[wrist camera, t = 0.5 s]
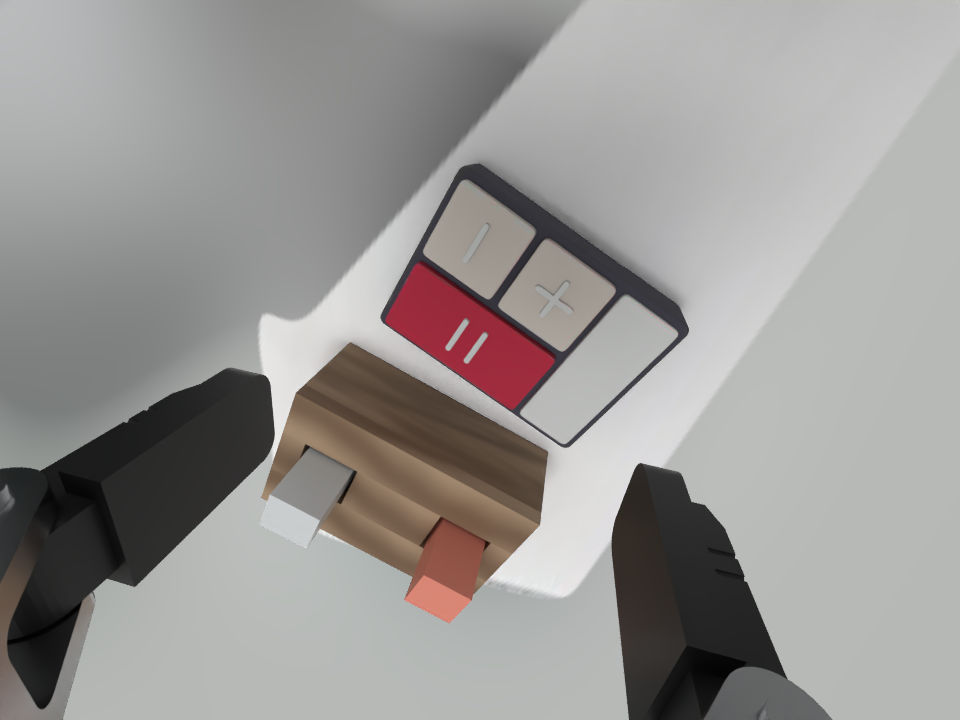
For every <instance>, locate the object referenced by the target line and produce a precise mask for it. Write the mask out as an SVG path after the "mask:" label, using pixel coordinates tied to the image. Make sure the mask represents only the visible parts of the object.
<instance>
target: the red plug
mask: <svg viewBox="0 0 960 720" xmlns="http://www.w3.org/2000/svg"><path fill="white" fill-rule="evenodd" d="M485 541H486V540H484V539H482V538H480V537H479V536H477V535H475V534H473V533H471V532H469V531H467V530H465V529H464V528H462V527H460V526H458V525H456V524H454V523H452V522H451V521H449V520H447V519H445V518H443V517H440V518H439V520H438V521H437V522H436V524H435V525H434V527H433V528H432V529H431V531H430V533H429V536H428V538H427V541H426V544H425V546H424V549H423V552H422V554H421V557H420V559H419V562H418V565H417V567H416V570H415V573H414V575H413V578H412V581H411V583H410V586H409V589H408V591H407V594H406V597H405V599H404V600H405V601H407V602H409V603H411V604H413V605H415V606H417V607H419V608H421V609H423V610H425V611H427V612H428V613H431V614H433V615H434V616H436V617H438V618H440V619H442V620H444V621H446V622H448V623H450V622H451V621H452V620H453V619H454V618H455V617H456V616H457V615H458V614H459V613H460V612H461V611H462V610H463V609H464V608H465V607H466V606H467V604H468V603H469V602H470V601H471V600H472V597H473V592H474V588H475V584H476V580H477V575H478V571H479V567H480V563H481V558H482V554H483V550H484V546H485Z"/></svg>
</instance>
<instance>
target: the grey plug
mask: <svg viewBox="0 0 960 720" xmlns="http://www.w3.org/2000/svg"><path fill="white" fill-rule="evenodd" d="M356 472H357V471H355V470H353V469H351V468H350V467H348V466H346V465H344V464H342V463H340V462H338V461H336V460H335V459H333V458H331V457H329V456H327V455H325V454H323V453H322V452H320V451H318V450H316V449H314V448H312V447H310V448H309V449H308V450H307V451H306V452H305V454H304V455H303V456H302V457H301V458H300V459H299V461H298V462H297V463H296V464H295V465H294V466H293V468H292V469H291V470H290V471H289V472H288V474H287V475H286V476H285V477H284V478H283V479H282V481H281V482H280V483H279V484H278V485H277V486H276V488H275V489H274V490H273V491H272V492H271V494H270V495H269V498H268V501H267V504H266V507H265V510H264V513H263V516H262V518H261V522H260V525H261V526H263V527H265V528H267V529H269V530H271V531H273V532H274V533H276V534H278V535H280V536H282V537H284V538H286V539H288V540H290V541H292V542H294V543H296V544H298V545H299V546H301V547H303V548H305V549H307V547H308V546H309V544H310V543H311V541H312V540H313V538H314V537H315V535H316V534H317V532H318V531H319V529H320V528H321V526H322V525H323V523H324V521H325V520H326V518H327V517H328V515H329V514H330V512H331V511H332V509H333V508H334V506H335V505H336V503H337V502H338V500H339V498H340V497H341V495H342V494H343V492H344V491H345V489H346V488H347V486H348V485H349V483H350V482H351V480H352V479H353V477H354V475H355V474H356Z"/></svg>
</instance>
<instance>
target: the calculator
mask: <svg viewBox="0 0 960 720" xmlns="http://www.w3.org/2000/svg"><path fill="white" fill-rule="evenodd" d="M381 320H382V322H383V323H384V324H385V325H387V326H388V327H390V328H391V329H393V330H394V331H395V332H397V333H398V334H400V335H401V336H403V337H404V338H405V339H407V340H408V341H410V342H411V343H413V344H414V345H416V346H417V347H418V348H420V349H421V350H423V351H424V352H426V353H427V354H429V355H430V356H431V357H433V358H434V359H436V360H437V361H439V362H440V363H441V364H443V365H444V366H446V367H447V368H449V369H450V370H452V371H453V372H454V373H456V374H457V375H459V376H460V377H462V378H463V379H464V380H466V381H467V382H469V383H470V384H472V385H473V386H475V387H476V388H477V389H479V390H480V391H482V392H483V393H485V394H486V395H488V396H489V397H490V398H492V399H493V400H495V401H496V402H498V403H499V404H500V405H502V406H503V407H505V408H506V409H508V410H509V411H511V412H512V413H513V414H515V415H516V416H518V417H519V418H521V419H522V420H524V421H525V422H526V423H528V424H529V425H531V426H532V427H534V428H535V429H536V430H538V431H539V432H541V433H542V434H544V435H545V436H547V437H548V438H549V439H551V440H552V441H554V442H555V443H557V444H558V445H560V446H561V447H564V448H567V447H570V446H571V445H572V444H573V443H574V442H575V441H576V440H577V439H578V438H579V437H581V436H582V435H583V434H584V433H585V432H586V431H587V430H588V429H589V428H590V427H591V426H592V425H593V424H594V423H595V422H596V421H597V420H598V419H599V418H601V417H602V416H603V415H604V414H605V413H606V412H607V411H608V410H609V409H610V408H611V407H612V406H613V405H614V404H615V403H616V402H617V401H618V400H620V399H621V398H622V397H623V396H624V395H625V394H626V393H627V392H628V391H629V390H630V389H631V388H632V387H633V386H634V385H635V384H636V383H637V382H638V381H640V380H641V379H642V378H643V377H644V376H645V375H646V374H647V373H648V372H649V371H650V370H651V369H652V368H653V367H654V366H655V365H656V364H657V363H659V362H660V361H661V360H662V359H663V358H664V357H665V356H666V355H667V354H668V353H669V352H670V351H671V350H672V349H673V348H674V347H675V346H676V345H677V344H679V343H680V342H681V341H682V340H683V339H684V338H685V337H686V336H687V334H688V332H689V328H688V326H687V323H686V321H685V319H684V316H683V314H682V312H681V310H680V308H679V306H678V305H677V304H675V303H674V302H673V301H671V300H670V299H669V298H667V297H666V296H664V295H663V294H662V293H660V292H659V291H657V290H656V289H655V288H653V287H652V286H650V285H649V284H648V283H646V282H645V281H643V280H642V279H641V278H639V277H638V276H636V275H635V274H634V273H632V272H631V271H629V270H628V269H626V268H624V267H622V266H621V265H619V264H618V263H617V262H615V261H614V260H613V259H611V258H610V257H608V256H607V255H606V254H604V253H603V252H602V251H600V250H599V249H597V248H596V247H595V246H593V245H592V244H591V243H589V242H588V241H587V240H585V239H584V238H582V237H581V236H580V235H578V234H577V233H576V232H574V231H573V230H571V229H570V228H569V227H567V226H566V225H565V224H563V223H562V222H560V221H559V220H558V219H556V218H555V217H554V216H552V215H551V214H550V213H548V212H547V211H545V210H544V209H543V208H541V207H540V206H538V205H537V204H536V203H534V202H533V201H531V200H530V199H529V198H527V197H526V196H524V195H523V194H522V193H520V192H519V191H518V190H516V189H515V188H513V187H512V186H511V185H509V184H508V183H506V182H505V181H504V180H502V179H501V178H499V177H498V176H497V175H495V174H494V173H492V172H491V171H490V170H488V169H487V168H485V167H484V166H482V165H481V164H473V165H468V166H464V167H462V168H460V169H459V171H458V173H457V174H456V176H455V178H454V180H453V182H452V184H451V185H450V187H449V189H448V191H447V193H446V195H445V197H444V198H443V200H442V202H441V204H440V206H439V208H438V210H437V211H436V213H435V215H434V217H433V219H432V221H431V223H430V224H429V226H428V228H427V230H426V232H425V234H424V236H423V237H422V239H421V241H420V243H419V245H418V247H417V249H416V250H415V252H414V254H413V256H412V258H411V260H410V262H409V263H408V265H407V267H406V269H405V271H404V273H403V275H402V276H401V278H400V280H399V282H398V284H397V286H396V287H395V289H394V291H393V293H392V295H391V297H390V299H389V300H388V302H387V304H386V306H385V308H384V310H383V312H382V314H381Z"/></svg>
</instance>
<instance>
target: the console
mask: <svg viewBox="0 0 960 720" xmlns="http://www.w3.org/2000/svg"><path fill="white" fill-rule="evenodd" d="M310 447H312V448H314V449H316V450H318V451H320V452H322V453H323V454H325V455H327V456H329V457H331V458H333V459H335V460H336V461H338V462H340V463H342V464H344V465H346V466H348V467H350V468H351V469H353V470H355V471H357V472H356V474H355V475H354V477H353V479H352V480H351V482H350V483H349V485H348V486H347V488H346V489H345V491H344V492H343V494H342V495H341V497H340V498H339V500H338V502H337V503H336V505H335V506H334V508H333V509H332V511H331V512H330V514H329V515H328V517H327V518H326V520H325V521H324V523H323V525H322V526H321V528H320V529H322V530H324V531H326V532H328V533H330V534H332V535H333V536H335V537H337V538H339V539H341V540H343V541H345V542H347V543H349V544H351V545H353V546H354V547H356V548H358V549H360V550H362V551H364V552H366V553H368V554H370V555H372V556H374V557H376V558H378V559H379V560H381V561H383V562H385V563H387V564H389V565H391V566H393V567H395V568H397V569H398V570H400V571H402V572H404V573H406V574H408V575H410V576H412V577H413V575H414V573H415V570H416V567H417V565H418V562H419V559H420V557H421V554H422V552H423V549H424V546H425V544H426V541H427V538H428V536H429V533H430V531H431V529H432V528H433V527H434V525H435V524H436V522H437V521H438V520H439V518H440V517H443V518H445V519H447V520H449V521H451V522H452V523H454V524H456V525H458V526H460V527H462V528H464V529H465V530H467V531H469V532H471V533H473V534H475V535H477V536H479V537H480V538H482V539H484V540H486V541H485V546H484V550H483V554H482V558H481V563H480V567H479V571H478V575H477V580H476V584H475V588H474V592H473V594H474V593H475V592H476V591H477V590H478V589H479V588H480V587H481V586H482V585H483V584H484V583H485V582H486V581H487V580H488V579H489V578H490V577H491V576H492V575H493V573H494V572H495V571H496V570H497V569H498V568H499V567H500V566H501V565H502V564H503V563H504V562H505V561H506V560H507V559H508V558H509V557H510V556H511V555H512V554H513V553H514V552H515V551H516V549H517V548H518V547H519V546H520V545H521V544H522V543H523V542H524V541H525V540H526V539H527V538H528V537H529V536H530V535H531V534H532V533H533V532H534V531H535V530H536V529H537V528H538V527H539V526H540V519H541V510H542V501H543V492H544V483H545V474H546V464H547V455H548V452H547V451H545V450H543V449H542V448H540V447H538V446H536V445H534V444H533V443H531V442H529V441H527V440H525V439H524V438H522V437H520V436H518V435H516V434H515V433H513V432H511V431H509V430H507V429H506V428H504V427H502V426H500V425H498V424H497V423H495V422H493V421H491V420H489V419H488V418H486V417H484V416H482V415H480V414H478V413H477V412H475V411H473V410H471V409H469V408H468V407H466V406H464V405H462V404H460V403H459V402H457V401H455V400H453V399H451V398H450V397H448V396H446V395H444V394H442V393H441V392H439V391H437V390H435V389H433V388H432V387H430V386H428V385H426V384H424V383H423V382H421V381H419V380H417V379H415V378H413V377H412V376H410V375H408V374H406V373H404V372H403V371H401V370H399V369H397V368H395V367H394V366H392V365H390V364H388V363H386V362H385V361H383V360H381V359H379V358H377V357H376V356H374V355H372V354H370V353H368V352H367V351H365V350H363V349H361V348H359V347H358V346H356V345H354V344H352V343H349V344H348V345H347V346H346V347H345V348H344V349H343V350H342V351H340V352H339V353H338V354H337V355H336V356H335V357H334V358H333V359H332V360H331V361H330V362H329V363H328V364H327V365H325V366H324V367H323V368H322V369H321V370H320V371H319V372H318V373H317V374H316V375H315V376H314V377H313V378H312V379H310V380H309V381H308V382H307V383H306V384H305V385H304V386H303V387H302V388H301V389H300V390H299V391H298V392H296V394H295V397H294V400H293V403H292V407H291V410H290V413H289V416H288V419H287V422H286V425H285V428H284V431H283V434H282V437H281V440H280V443H279V446H278V449H277V452H276V455H275V458H274V461H273V464H272V467H271V470H270V473H269V476H268V479H267V482H266V485H265V488H264V492H263V494H262V497H261V498H263V499H265V500H267V501H268V498H269V495H270V494H271V492H272V491H273V490H274V489H275V488H276V486H277V485H278V484H279V483H280V482H281V481H282V479H283V478H284V477H285V476H286V475H287V474H288V472H289V471H290V470H291V469H292V468H293V466H294V465H295V464H296V463H297V462H298V461H299V459H300V458H301V457H302V456H303V455H304V454H305V452H306V451H307V450H308V449H309V448H310Z"/></svg>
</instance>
